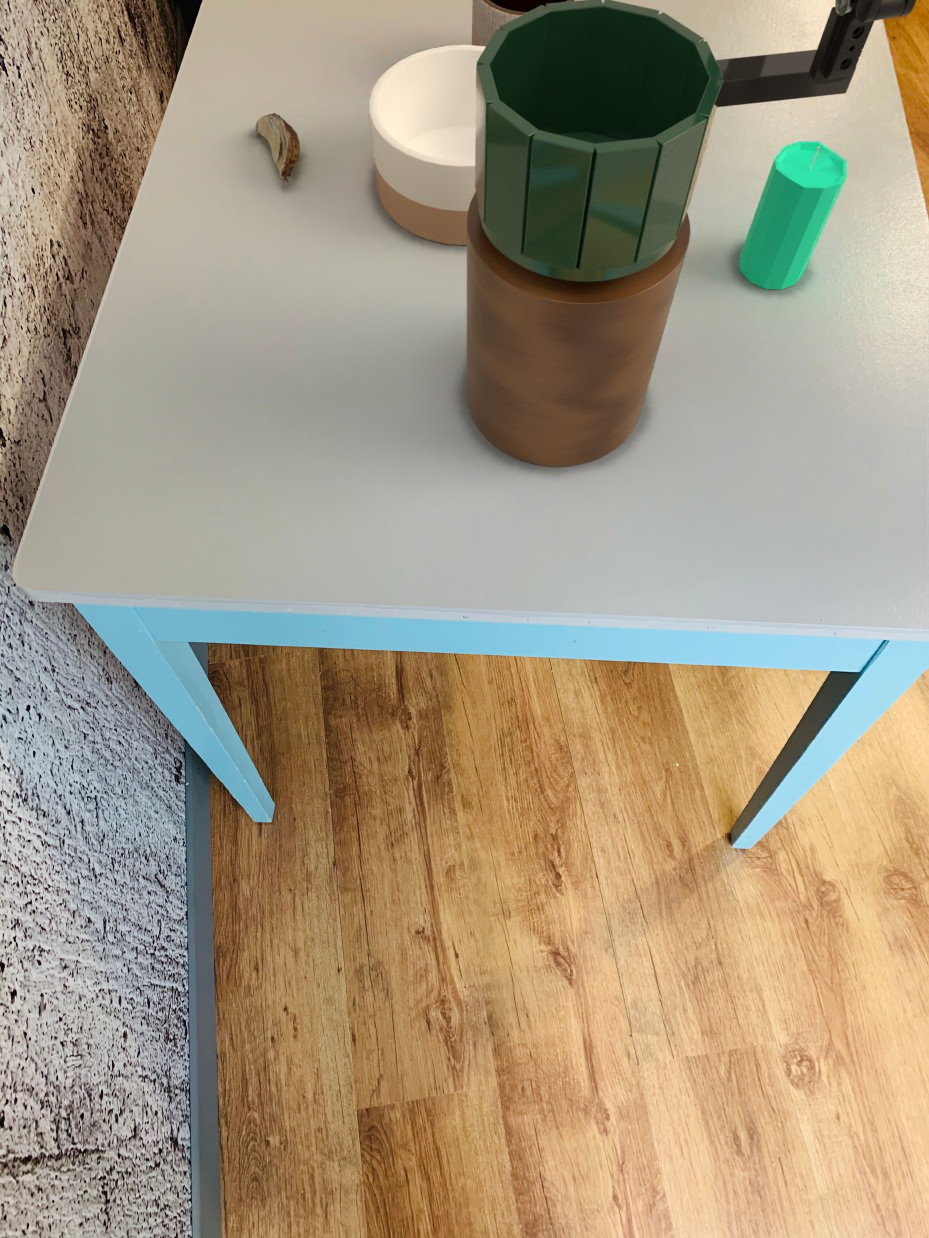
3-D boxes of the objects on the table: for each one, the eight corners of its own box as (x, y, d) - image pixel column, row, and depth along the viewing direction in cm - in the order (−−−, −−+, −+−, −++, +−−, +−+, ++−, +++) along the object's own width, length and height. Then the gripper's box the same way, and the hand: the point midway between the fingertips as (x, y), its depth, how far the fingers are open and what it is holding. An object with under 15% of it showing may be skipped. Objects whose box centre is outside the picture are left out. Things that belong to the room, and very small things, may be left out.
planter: (460, 106, 90) (459, 8, 81) (483, 44, 94) (485, -55, 85) (562, 122, 88) (572, 24, 80) (580, 59, 93) (592, -41, 84)
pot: (497, 294, 53) (502, 163, 45) (462, 150, 59) (461, 11, 51) (836, 253, 54) (900, 119, 46) (769, 116, 60) (816, -24, 52)
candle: (772, 300, 78) (822, 182, 67) (724, 263, 80) (765, 143, 69) (816, 270, 79) (872, 150, 68) (768, 234, 81) (815, 113, 70)
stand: (609, 315, 77) (646, 131, 61) (666, 446, 71) (724, 279, 55) (448, 346, 75) (443, 167, 60) (492, 483, 69) (500, 323, 53)
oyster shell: (276, 187, 91) (308, 188, 83) (243, 173, 88) (271, 173, 81) (290, 126, 89) (323, 122, 81) (256, 111, 87) (287, 105, 79)
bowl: (532, 259, 80) (539, 179, 72) (356, 230, 82) (345, 150, 74) (564, 141, 87) (573, 57, 80) (401, 117, 89) (395, 32, 81)
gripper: (1114, -320, 32) (911, 100, 47) (934, -452, 38) (804, -42, 53) (933, -298, 31) (785, 123, 46) (778, -436, 37) (690, -25, 52)
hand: (795, 34), depth 49 cm, fingers open, 8 cm apart
